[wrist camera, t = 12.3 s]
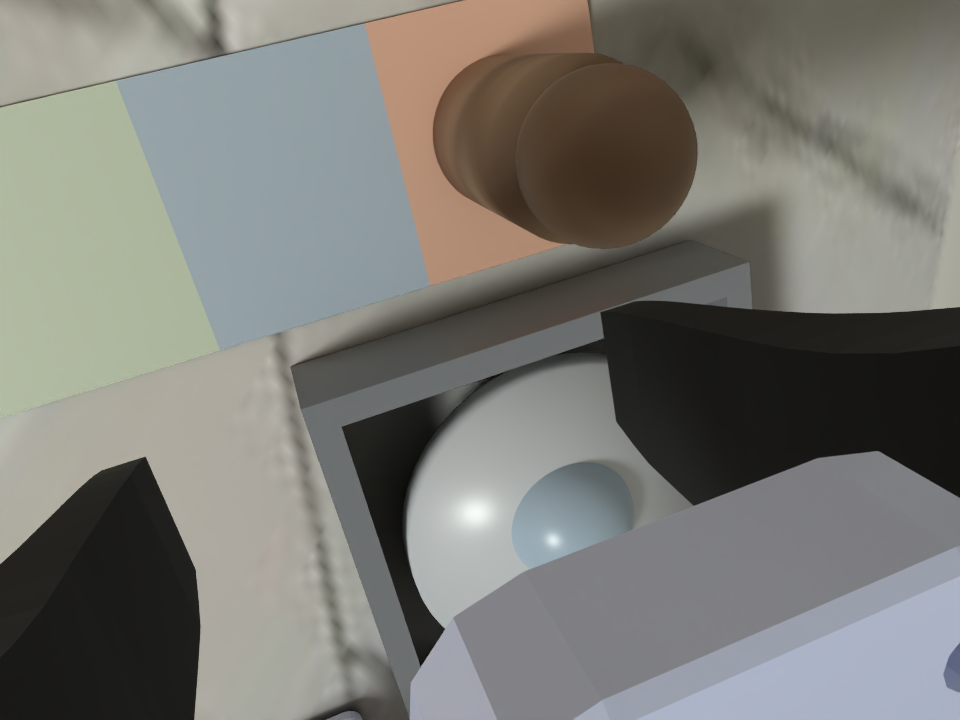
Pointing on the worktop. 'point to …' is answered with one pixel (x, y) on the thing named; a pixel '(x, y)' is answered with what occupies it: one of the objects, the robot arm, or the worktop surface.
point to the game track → (244, 195)
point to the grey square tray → (472, 357)
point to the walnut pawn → (567, 146)
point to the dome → (525, 482)
